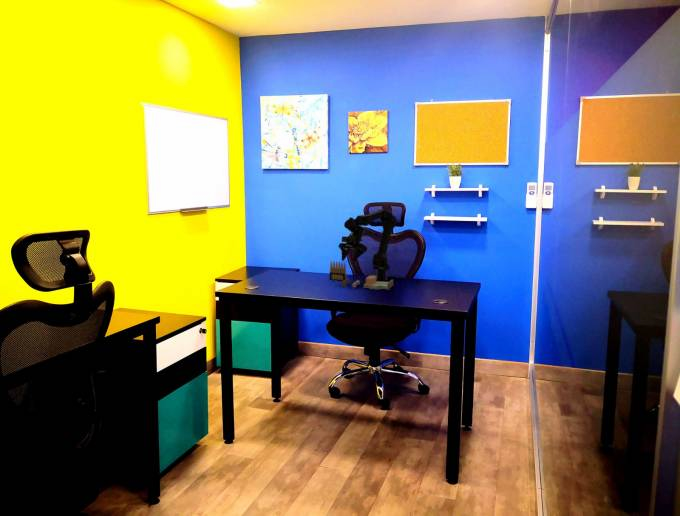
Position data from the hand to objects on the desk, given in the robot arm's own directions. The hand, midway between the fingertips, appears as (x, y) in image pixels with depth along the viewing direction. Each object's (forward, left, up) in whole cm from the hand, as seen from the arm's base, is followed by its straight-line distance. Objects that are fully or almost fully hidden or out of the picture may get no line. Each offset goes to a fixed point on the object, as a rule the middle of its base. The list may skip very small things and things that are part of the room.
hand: (347, 261), depth 306 cm
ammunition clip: (-15, -10, -15) cm, 23 cm away
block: (-4, +13, -12) cm, 18 cm away
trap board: (-4, +11, -14) cm, 18 cm away
